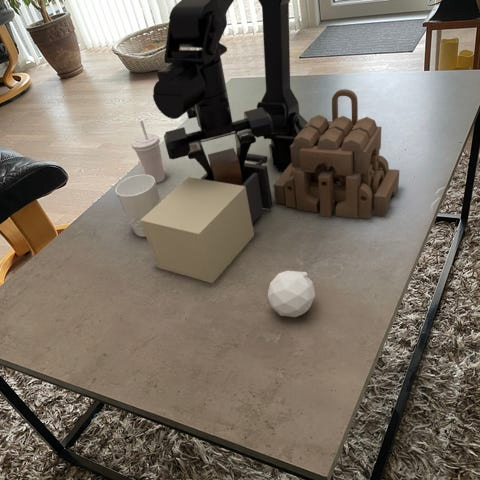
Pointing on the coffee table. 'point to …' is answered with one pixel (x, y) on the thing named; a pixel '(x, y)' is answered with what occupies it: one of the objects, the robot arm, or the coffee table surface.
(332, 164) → the wooden puzzle
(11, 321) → the coffee table surface
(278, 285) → the ornament
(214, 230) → the cabinet
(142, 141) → the smoothie
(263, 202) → the drawer
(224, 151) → the block
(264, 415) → the coffee table surface
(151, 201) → the white cup
